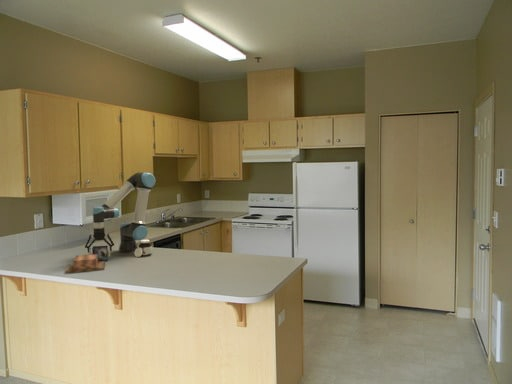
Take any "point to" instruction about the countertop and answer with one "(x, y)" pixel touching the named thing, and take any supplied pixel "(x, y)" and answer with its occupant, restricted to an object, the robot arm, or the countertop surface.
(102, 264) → the tower base
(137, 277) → the countertop surface
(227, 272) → the countertop surface
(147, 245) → the spread jar
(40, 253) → the countertop surface
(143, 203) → the robot arm
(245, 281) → the countertop surface
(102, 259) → the small box
